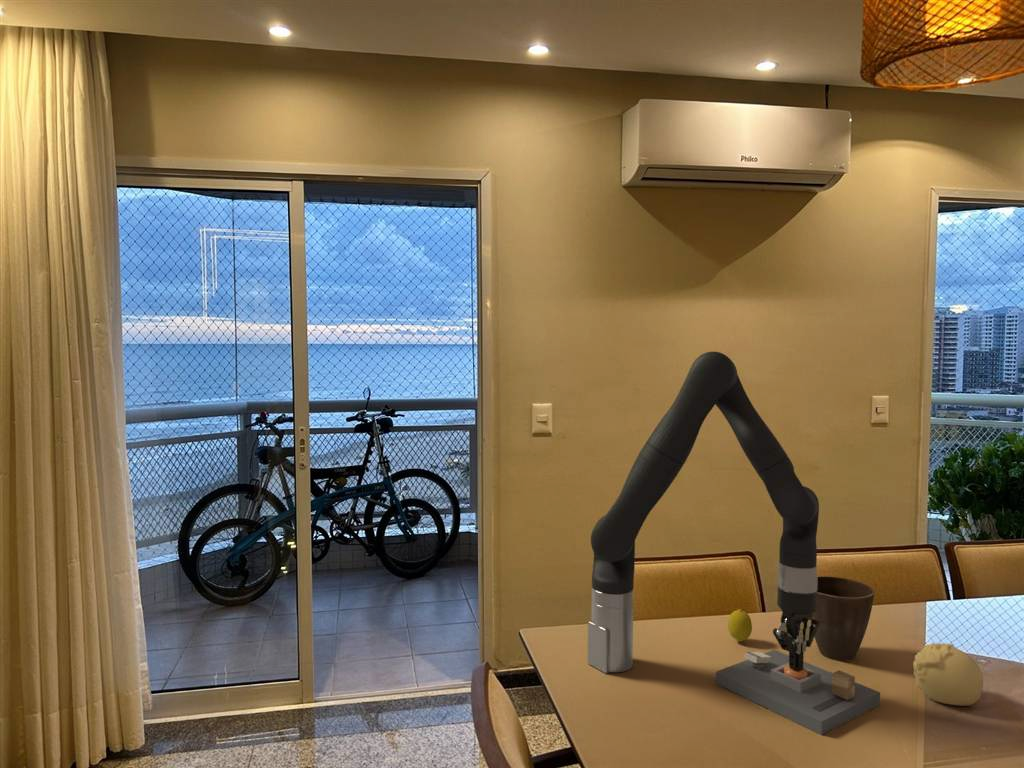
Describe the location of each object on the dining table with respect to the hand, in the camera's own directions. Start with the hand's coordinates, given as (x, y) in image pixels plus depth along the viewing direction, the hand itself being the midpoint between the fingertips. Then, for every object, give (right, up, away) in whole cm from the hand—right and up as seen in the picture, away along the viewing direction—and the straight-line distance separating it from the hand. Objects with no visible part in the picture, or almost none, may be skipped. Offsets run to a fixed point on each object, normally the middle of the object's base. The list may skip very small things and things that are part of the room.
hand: (796, 669), depth 141 cm
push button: (0, -2, 0) cm, 2 cm away
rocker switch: (-5, -1, +7) cm, 9 cm away
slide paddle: (+7, -2, -6) cm, 9 cm away
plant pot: (+17, -5, +19) cm, 26 cm away
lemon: (-3, -4, +26) cm, 26 cm away
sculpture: (+30, -6, -1) cm, 30 cm away
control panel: (0, -5, 0) cm, 5 cm away
